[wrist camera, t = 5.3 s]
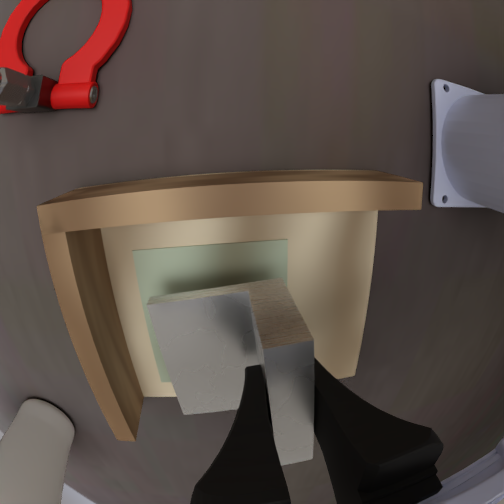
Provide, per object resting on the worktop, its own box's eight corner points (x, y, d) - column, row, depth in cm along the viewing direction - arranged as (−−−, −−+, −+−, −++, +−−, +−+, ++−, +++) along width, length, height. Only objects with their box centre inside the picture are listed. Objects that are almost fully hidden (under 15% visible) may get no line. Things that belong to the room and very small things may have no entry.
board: (375, 170, 16) (380, 171, 15) (352, 371, 21) (355, 376, 20) (78, 187, 14) (73, 189, 14) (128, 391, 19) (127, 397, 19)
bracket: (290, 389, 16) (312, 458, 12) (184, 404, 16) (181, 476, 11) (281, 277, 14) (313, 339, 9) (149, 296, 14) (124, 365, 9)
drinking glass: (82, 406, 19) (38, 573, 5) (85, 448, 21) (58, 583, 7) (11, 378, 18) (-58, 518, 4) (23, 423, 20) (-21, 545, 6)
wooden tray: (379, 171, 15) (423, 182, 12) (354, 375, 20) (376, 414, 17) (74, 189, 14) (36, 205, 10) (127, 396, 19) (117, 440, 15)
